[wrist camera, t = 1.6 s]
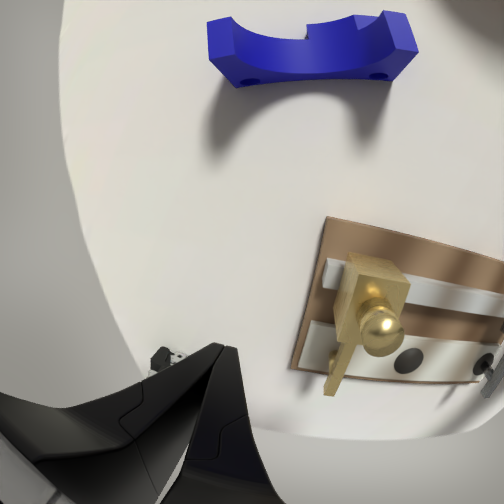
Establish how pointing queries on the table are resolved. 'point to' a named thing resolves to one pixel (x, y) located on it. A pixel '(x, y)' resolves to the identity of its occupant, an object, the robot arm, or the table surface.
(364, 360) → the board
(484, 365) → the fixed leg
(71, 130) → the table surface
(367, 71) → the cable clip
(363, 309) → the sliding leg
